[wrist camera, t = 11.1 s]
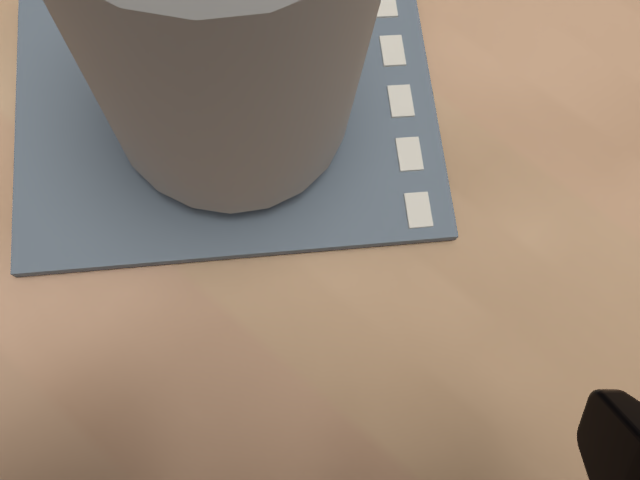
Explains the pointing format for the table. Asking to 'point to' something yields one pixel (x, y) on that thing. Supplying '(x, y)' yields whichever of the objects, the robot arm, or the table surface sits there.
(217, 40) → the can
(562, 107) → the table surface
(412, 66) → the mat
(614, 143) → the table surface
